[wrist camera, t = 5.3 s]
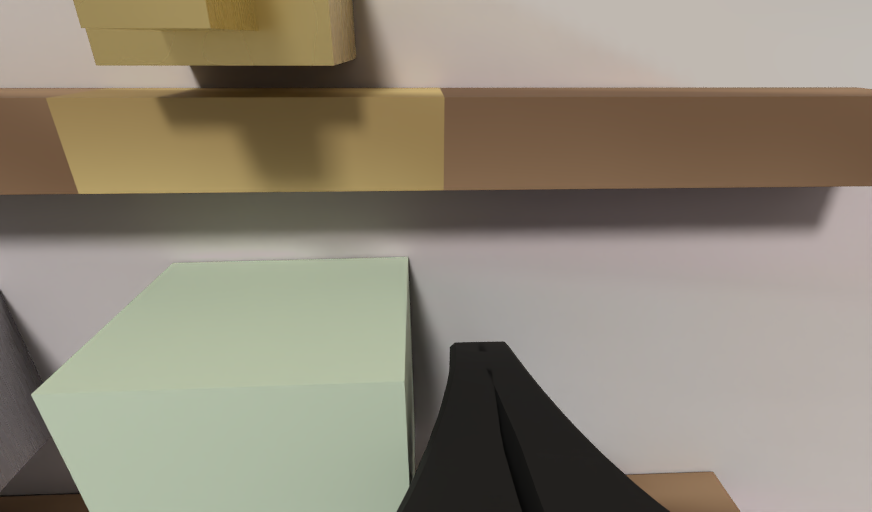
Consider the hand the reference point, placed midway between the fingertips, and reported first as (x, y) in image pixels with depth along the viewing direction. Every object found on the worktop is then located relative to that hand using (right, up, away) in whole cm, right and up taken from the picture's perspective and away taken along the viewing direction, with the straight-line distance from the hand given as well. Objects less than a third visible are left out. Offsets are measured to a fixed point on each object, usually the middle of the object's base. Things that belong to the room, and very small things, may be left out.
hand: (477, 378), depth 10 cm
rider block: (-4, 0, +1) cm, 4 cm away
